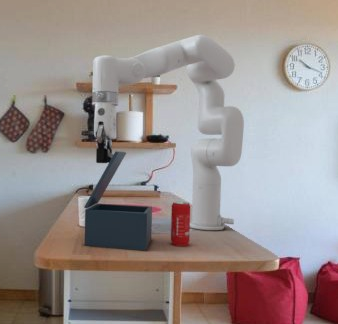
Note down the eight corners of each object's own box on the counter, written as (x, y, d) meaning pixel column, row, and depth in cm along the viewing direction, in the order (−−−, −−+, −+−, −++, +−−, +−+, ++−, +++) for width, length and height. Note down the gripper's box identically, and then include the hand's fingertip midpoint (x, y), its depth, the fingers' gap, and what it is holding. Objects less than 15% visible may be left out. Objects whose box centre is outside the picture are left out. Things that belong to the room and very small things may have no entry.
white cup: (97, 228, 133) (98, 199, 132) (75, 226, 134) (75, 198, 134) (101, 224, 140) (102, 196, 140) (80, 222, 142) (80, 195, 142)
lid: (126, 152, 118) (110, 143, 119) (117, 152, 105) (100, 142, 106) (98, 202, 121) (83, 193, 122) (86, 208, 107) (69, 198, 108)
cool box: (151, 239, 117) (152, 206, 117) (145, 250, 103) (146, 213, 103) (96, 235, 121) (97, 203, 121) (84, 245, 108) (85, 209, 107)
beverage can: (178, 247, 108) (180, 204, 108) (167, 243, 113) (168, 201, 113) (193, 245, 111) (194, 203, 110) (180, 241, 115) (182, 201, 115)
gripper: (112, 95, 103) (111, 164, 104) (122, 103, 120) (121, 162, 120) (85, 96, 105) (83, 163, 106) (99, 103, 122) (98, 161, 122)
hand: (104, 162), depth 113 cm, fingers closed on lid, 5 cm apart
